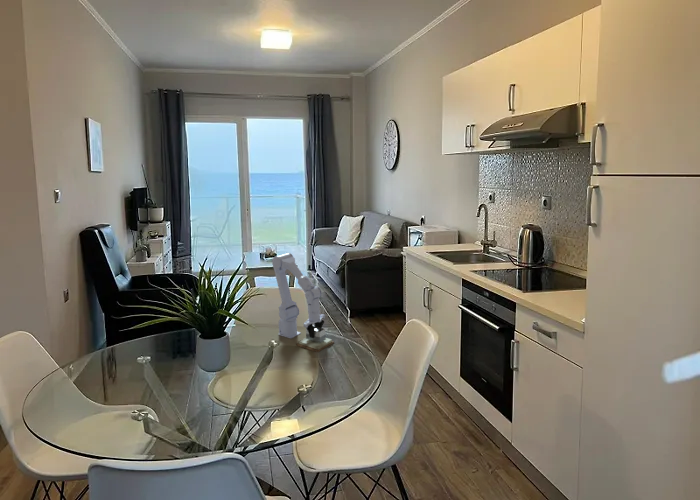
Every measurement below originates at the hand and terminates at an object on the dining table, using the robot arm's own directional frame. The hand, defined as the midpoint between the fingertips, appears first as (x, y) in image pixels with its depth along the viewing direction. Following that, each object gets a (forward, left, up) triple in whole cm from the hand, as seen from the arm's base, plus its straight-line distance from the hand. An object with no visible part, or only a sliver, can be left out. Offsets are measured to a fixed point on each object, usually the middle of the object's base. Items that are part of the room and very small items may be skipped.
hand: (315, 335), depth 261 cm
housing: (0, 0, -2) cm, 2 cm away
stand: (0, 0, -5) cm, 5 cm away
